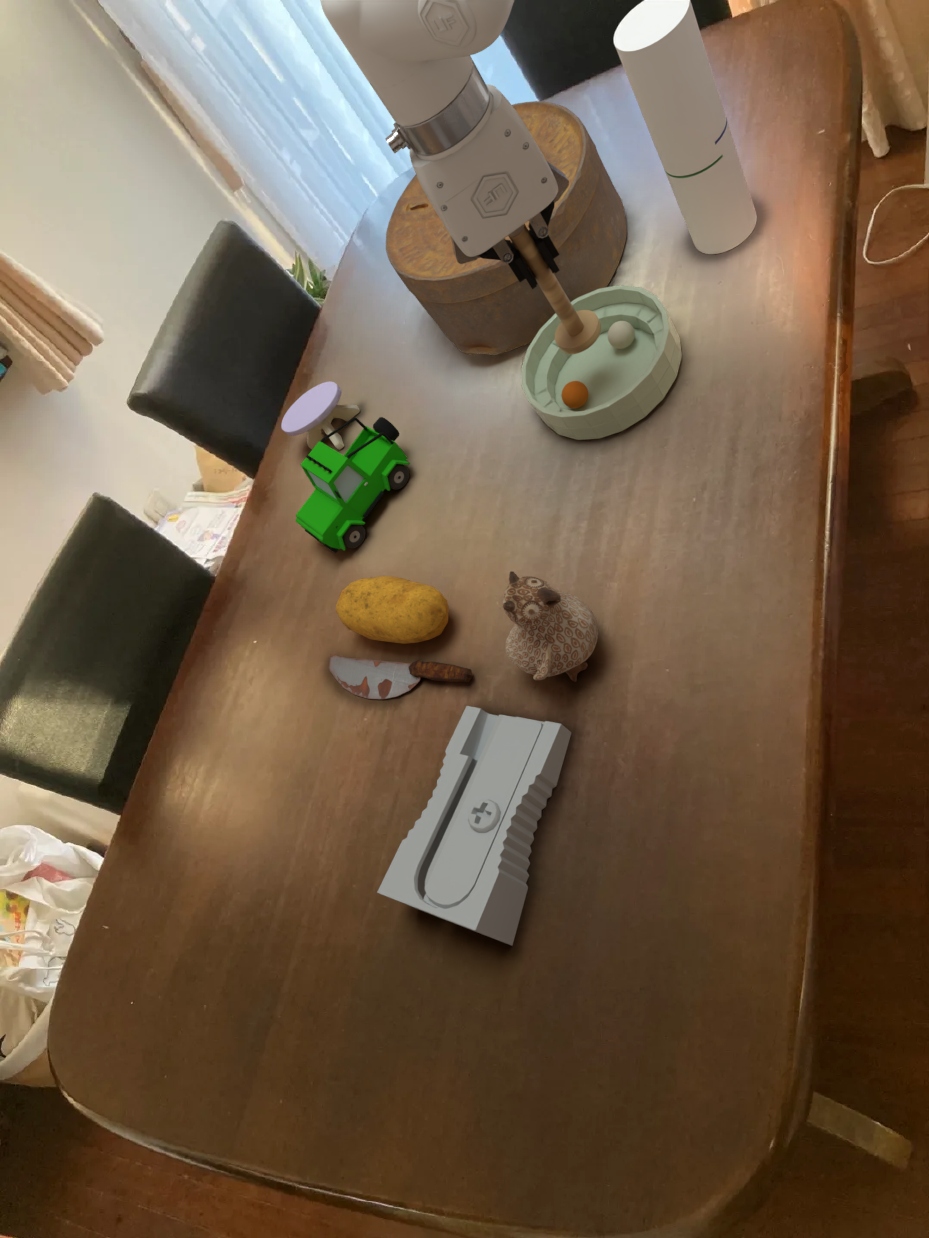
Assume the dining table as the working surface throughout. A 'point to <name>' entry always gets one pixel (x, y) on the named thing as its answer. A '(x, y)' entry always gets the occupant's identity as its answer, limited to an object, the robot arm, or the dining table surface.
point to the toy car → (350, 484)
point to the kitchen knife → (390, 675)
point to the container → (488, 289)
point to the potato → (393, 609)
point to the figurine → (547, 628)
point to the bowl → (605, 366)
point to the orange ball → (574, 394)
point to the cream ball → (621, 334)
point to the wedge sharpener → (480, 824)
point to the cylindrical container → (687, 121)
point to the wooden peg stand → (558, 299)
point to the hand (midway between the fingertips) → (541, 271)
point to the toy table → (318, 414)
